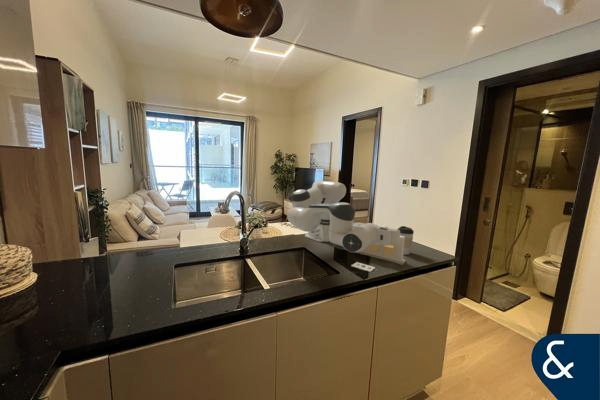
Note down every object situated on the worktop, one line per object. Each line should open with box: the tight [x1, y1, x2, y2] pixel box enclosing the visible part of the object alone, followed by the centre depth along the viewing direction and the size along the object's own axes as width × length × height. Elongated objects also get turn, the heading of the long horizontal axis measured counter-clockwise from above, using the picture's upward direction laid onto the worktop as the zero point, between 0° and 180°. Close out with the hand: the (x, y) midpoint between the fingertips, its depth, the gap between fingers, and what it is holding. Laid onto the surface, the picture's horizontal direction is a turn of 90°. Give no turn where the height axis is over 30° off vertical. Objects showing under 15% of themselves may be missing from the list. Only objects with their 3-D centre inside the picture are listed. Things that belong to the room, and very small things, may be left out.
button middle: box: [369, 245, 379, 252], centre depth 132 cm, size 4×7×4 cm, turn 141°
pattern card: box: [350, 261, 376, 273], centre depth 122 cm, size 10×6×1 cm, turn 51°
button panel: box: [355, 236, 406, 266], centre depth 136 cm, size 28×5×14 cm, turn 51°
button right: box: [384, 245, 395, 256], centre depth 127 cm, size 4×7×4 cm, turn 141°
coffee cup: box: [396, 225, 415, 256], centre depth 142 cm, size 9×9×15 cm
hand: (381, 227), depth 113 cm, fingers open, 4 cm apart
